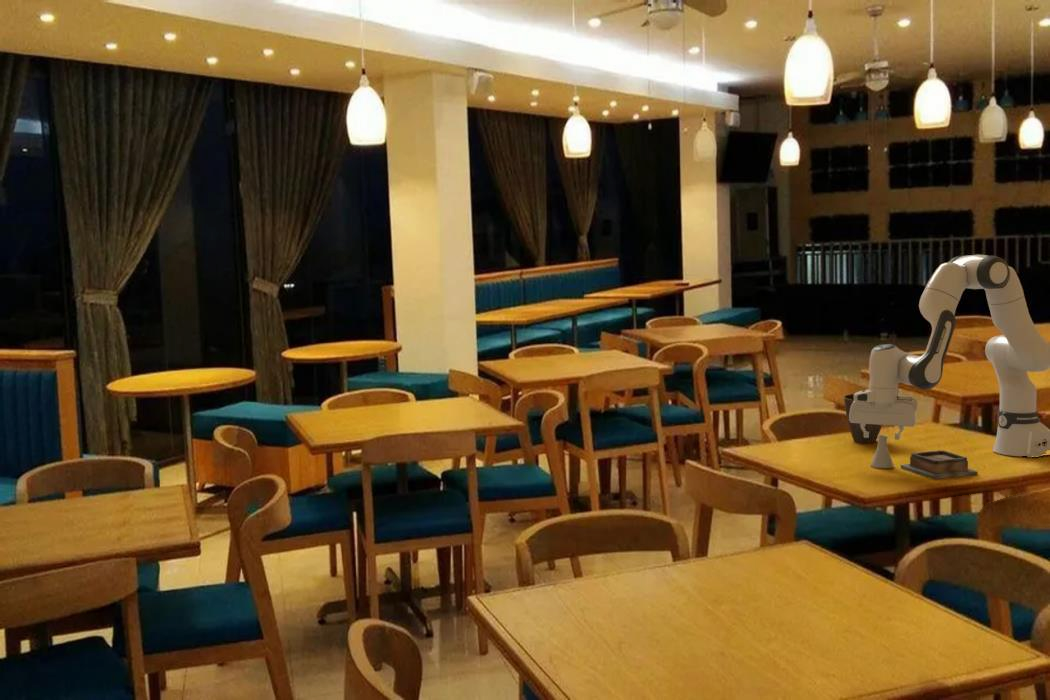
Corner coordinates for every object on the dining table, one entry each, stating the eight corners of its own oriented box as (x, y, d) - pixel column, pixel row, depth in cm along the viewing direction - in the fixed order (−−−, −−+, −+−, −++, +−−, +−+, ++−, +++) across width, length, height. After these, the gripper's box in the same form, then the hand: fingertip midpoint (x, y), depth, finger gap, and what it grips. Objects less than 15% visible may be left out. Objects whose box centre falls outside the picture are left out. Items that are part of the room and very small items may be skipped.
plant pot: (882, 437, 381) (883, 393, 379) (891, 446, 367) (892, 400, 365) (840, 437, 383) (840, 393, 381) (846, 445, 369) (847, 400, 367)
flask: (890, 464, 341) (891, 433, 340) (896, 469, 334) (897, 438, 333) (867, 464, 342) (868, 433, 341) (873, 469, 335) (873, 438, 333)
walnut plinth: (943, 463, 340) (943, 448, 339) (977, 474, 324) (978, 458, 324) (900, 468, 335) (900, 452, 335) (933, 479, 320) (933, 463, 319)
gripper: (918, 395, 334) (916, 438, 335) (851, 392, 342) (849, 434, 343) (917, 398, 328) (915, 442, 330) (848, 395, 336) (847, 438, 338)
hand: (881, 438), depth 337 cm, fingers open, 8 cm apart
